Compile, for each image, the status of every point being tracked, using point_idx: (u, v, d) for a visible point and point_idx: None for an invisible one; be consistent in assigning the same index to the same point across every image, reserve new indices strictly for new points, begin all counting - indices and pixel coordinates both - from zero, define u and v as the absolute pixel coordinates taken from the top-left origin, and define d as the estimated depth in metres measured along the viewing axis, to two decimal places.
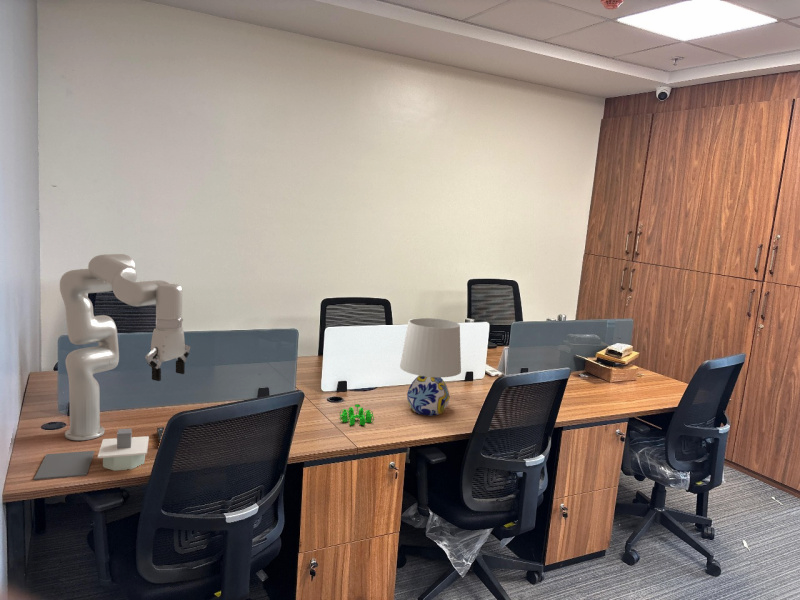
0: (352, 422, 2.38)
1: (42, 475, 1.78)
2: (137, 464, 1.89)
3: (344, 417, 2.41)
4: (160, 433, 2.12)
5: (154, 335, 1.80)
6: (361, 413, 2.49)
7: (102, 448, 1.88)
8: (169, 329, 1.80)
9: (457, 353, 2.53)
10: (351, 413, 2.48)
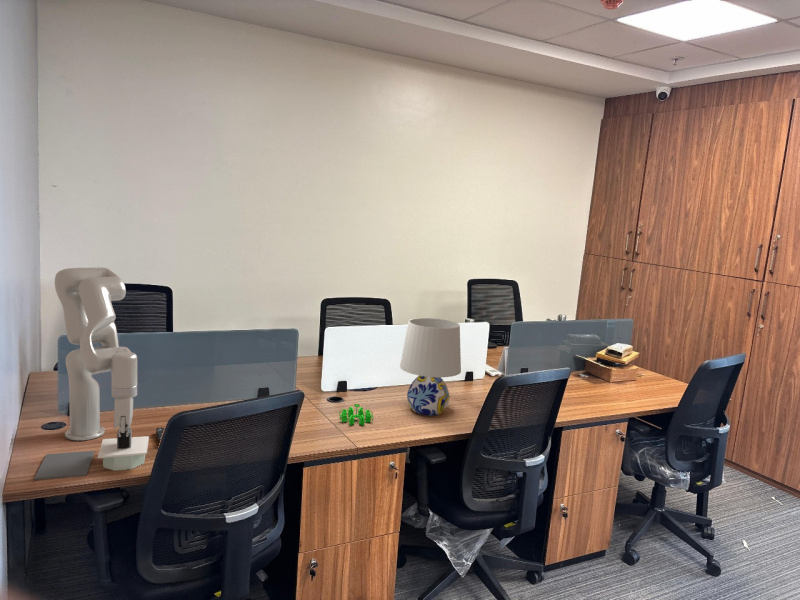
0: (351, 422, 2.39)
1: (42, 475, 1.78)
2: (137, 464, 1.89)
3: (343, 417, 2.41)
4: (160, 433, 2.12)
5: (119, 405, 1.84)
6: (361, 413, 2.49)
7: (102, 448, 1.88)
8: (133, 395, 1.87)
9: (457, 353, 2.53)
10: (351, 413, 2.48)
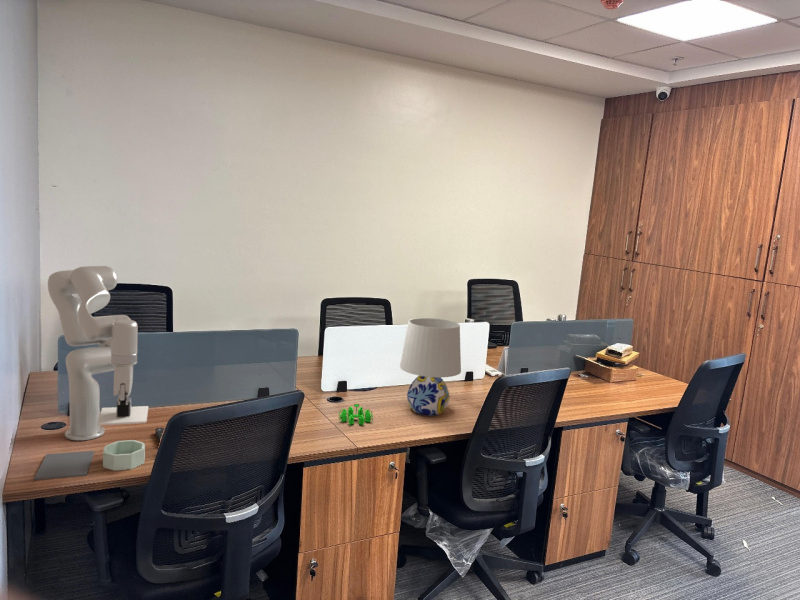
0: (351, 422, 2.39)
1: (42, 475, 1.78)
2: (137, 464, 1.89)
3: (343, 417, 2.41)
4: (159, 433, 2.12)
5: (119, 372, 1.83)
6: (360, 413, 2.49)
7: (101, 416, 1.87)
8: (133, 363, 1.86)
9: (457, 353, 2.53)
10: (350, 413, 2.48)
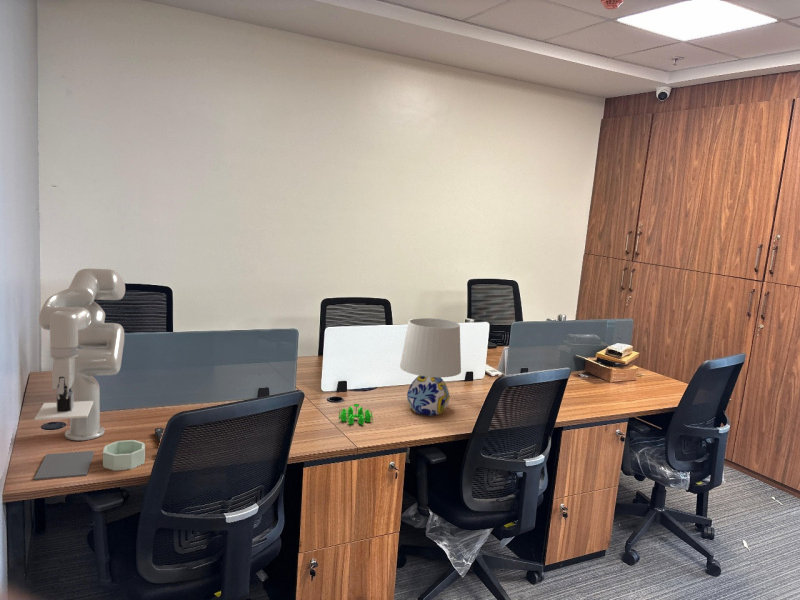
0: (351, 421, 2.39)
1: (42, 475, 1.78)
2: (137, 464, 1.89)
3: (343, 416, 2.41)
4: (159, 433, 2.11)
5: (57, 365, 1.77)
6: (360, 413, 2.49)
7: (41, 411, 1.81)
8: (73, 356, 1.80)
9: (457, 353, 2.53)
10: (350, 413, 2.49)
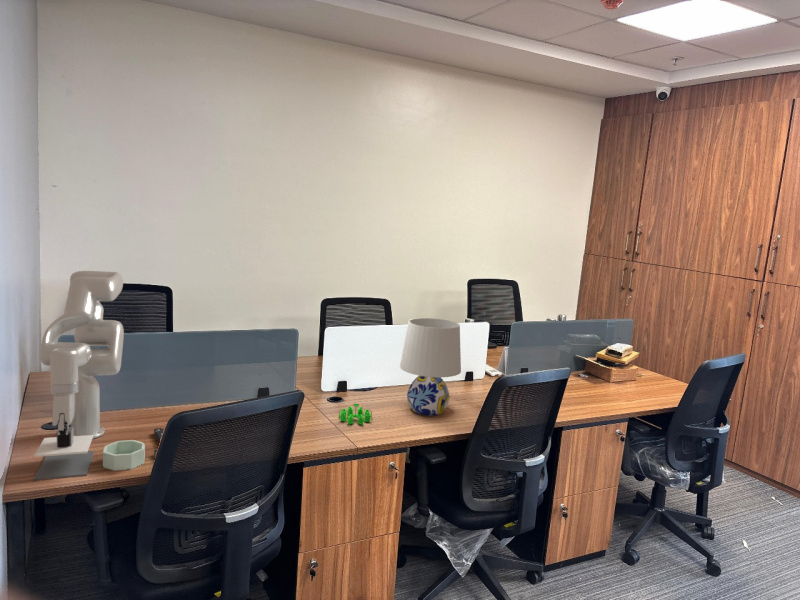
0: (350, 421, 2.39)
1: (42, 475, 1.78)
2: (137, 464, 1.89)
3: (343, 416, 2.41)
4: (159, 434, 2.11)
5: (58, 402, 1.79)
6: (360, 413, 2.49)
7: (41, 447, 1.82)
8: (73, 392, 1.82)
9: (457, 353, 2.53)
10: (350, 412, 2.49)
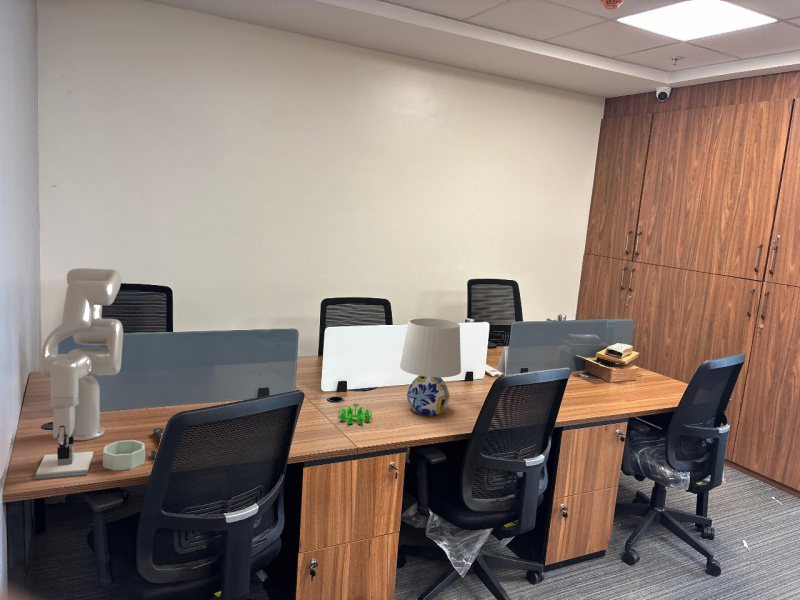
0: (350, 421, 2.39)
1: (42, 475, 1.78)
2: (137, 464, 1.89)
3: (342, 416, 2.42)
4: (159, 434, 2.11)
5: (58, 414, 1.79)
6: (360, 412, 2.49)
7: (42, 465, 1.84)
8: (73, 404, 1.82)
9: (457, 353, 2.53)
10: (350, 412, 2.49)
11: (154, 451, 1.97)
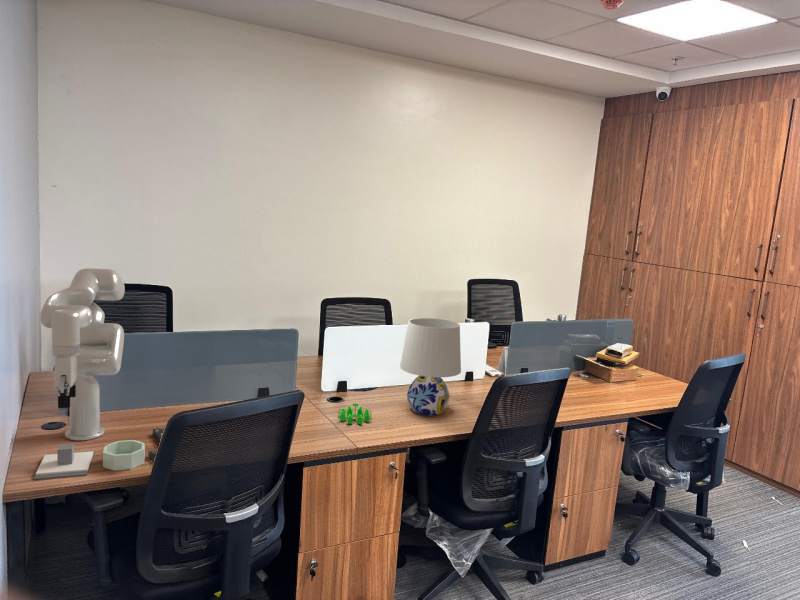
0: (349, 421, 2.39)
1: (42, 475, 1.78)
2: (137, 464, 1.89)
3: (342, 416, 2.42)
4: (159, 434, 2.11)
5: (59, 363, 1.78)
6: (360, 412, 2.49)
7: (42, 465, 1.84)
8: (75, 354, 1.81)
9: (457, 353, 2.53)
10: (350, 412, 2.49)
11: (151, 452, 1.96)
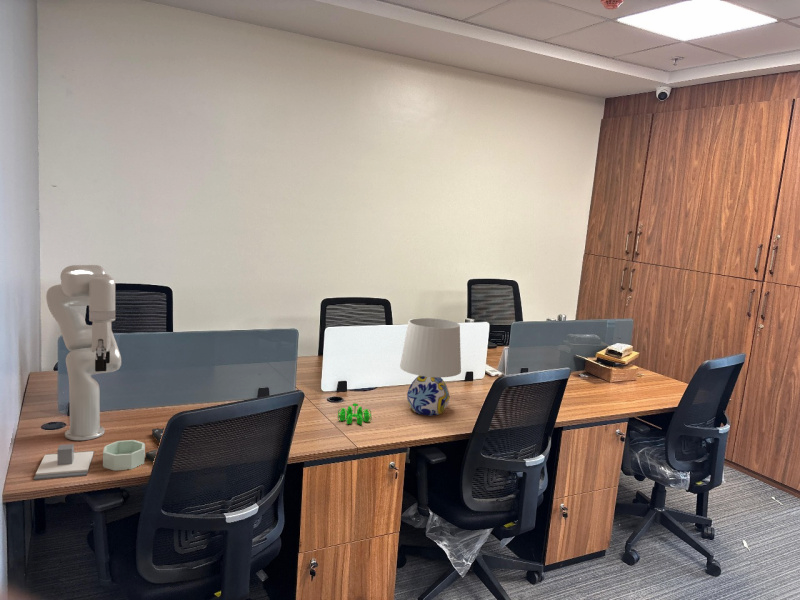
0: (349, 421, 2.39)
1: (42, 475, 1.78)
2: (137, 464, 1.89)
3: (342, 416, 2.42)
4: (158, 434, 2.11)
5: (97, 328, 1.85)
6: (360, 412, 2.49)
7: (42, 465, 1.84)
8: (111, 319, 1.88)
9: (457, 353, 2.53)
10: (350, 412, 2.49)
11: (149, 453, 1.95)
